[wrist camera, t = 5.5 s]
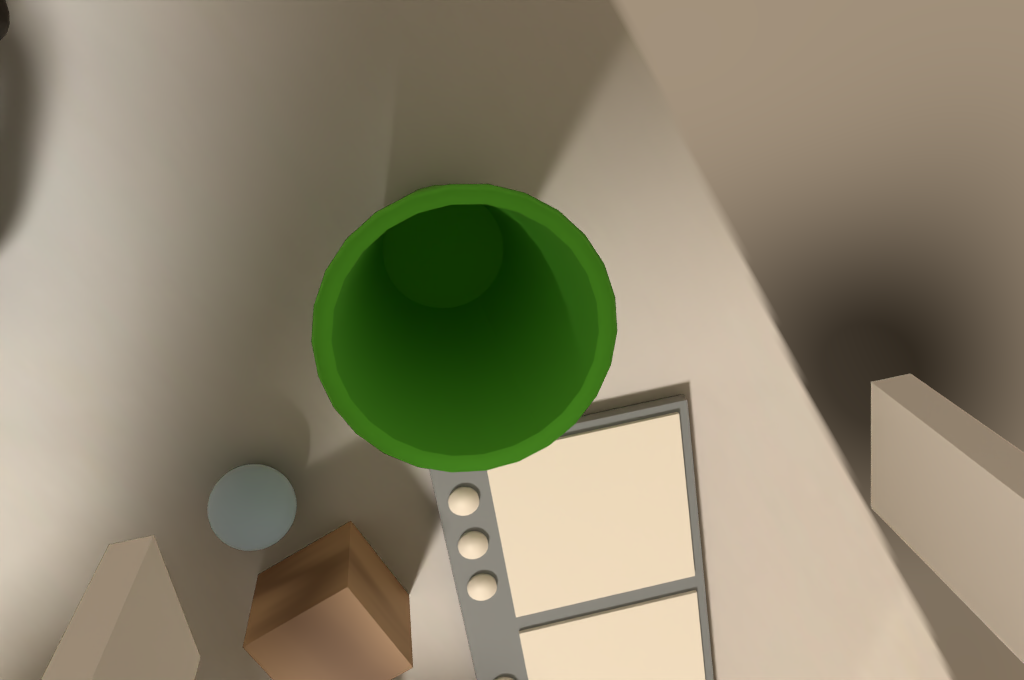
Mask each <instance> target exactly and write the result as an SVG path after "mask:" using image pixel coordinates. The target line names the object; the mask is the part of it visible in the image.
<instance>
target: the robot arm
mask: <svg viewBox="0 0 1024 680" xmlns="http://www.w3.org/2000/svg"><path fill="white" fill-rule="evenodd" d="M871 508H872V509H873V510H874V511H875V512H876V513H877V514H878V515H879V516H880V517H881V518H882V519H883V520H884V521H885V522H886V523H887V524H888V525H889V526H890V527H891V528H892V529H893V530H894V531H895V532H896V533H897V534H898V535H899V537H901V538H902V540H903V541H904V542H905V543H907V545H908V546H909V547H910V548H911V549H912V550H913V551H914V552H915V553H916V554H917V555H918V556H919V557H920V558H921V559H922V560H923V561H924V562H925V563H926V564H927V565H928V566H929V567H930V568H931V569H932V570H933V571H934V572H935V573H936V574H937V575H938V576H939V577H940V578H941V580H942V581H944V583H946V585H947V586H948V587H949V588H950V589H951V590H952V591H953V592H954V593H955V594H956V595H957V596H958V597H959V598H960V599H961V600H962V601H963V602H964V603H965V604H966V605H967V606H968V607H969V608H970V609H971V610H972V611H973V612H974V613H975V614H976V615H977V616H978V617H979V618H980V619H981V621H983V623H984V624H985V625H986V626H987V627H988V628H989V629H991V631H992V632H993V633H994V634H995V635H996V636H997V637H998V638H999V639H1000V640H1001V641H1002V642H1003V643H1004V644H1005V645H1006V646H1007V647H1008V648H1009V649H1010V650H1011V651H1012V652H1013V653H1014V654H1015V655H1016V656H1017V657H1018V658H1019V659H1020V660H1021V661H1022V663H1023V664H1024V452H1022V451H1021V450H1020V449H1018V448H1017V447H1015V446H1014V445H1012V444H1011V443H1009V442H1008V441H1007V440H1005V439H1004V438H1002V437H1001V436H999V435H998V434H997V433H995V432H994V431H992V430H991V429H989V428H988V427H986V426H985V425H984V424H982V423H981V422H979V421H978V420H976V419H975V418H973V417H972V416H971V415H969V414H968V413H966V412H965V411H963V410H962V409H960V408H959V407H958V406H956V405H955V404H953V403H952V402H950V401H949V400H947V399H946V398H945V397H943V396H942V395H940V394H939V393H937V392H936V391H935V390H933V389H932V388H930V387H929V386H927V385H926V384H925V383H923V382H922V381H920V380H919V379H917V378H916V377H915V376H913V375H912V374H906V375H902V376H897V377H892V378H888V379H883V380H879V381H873V382H871ZM200 658H201V657H200V655H199V652H198V649H197V647H196V644H195V642H194V639H193V636H192V634H191V631H190V629H189V626H188V623H187V621H186V618H185V615H184V613H183V610H182V608H181V605H180V602H179V600H178V597H177V595H176V592H175V589H174V587H173V584H172V581H171V579H170V576H169V574H168V571H167V568H166V566H165V563H164V561H163V558H162V555H161V553H160V550H159V547H158V545H157V542H156V540H155V537H154V535H152V536H147V537H142V538H138V539H133V540H128V541H124V542H119V543H114V544H109V546H108V548H107V550H106V552H105V554H104V556H103V558H102V560H101V562H100V564H99V566H98V568H97V570H96V572H95V574H94V575H93V577H92V579H91V581H90V583H89V585H88V587H87V589H86V591H85V593H84V595H83V597H82V599H81V601H80V603H79V605H78V607H77V609H76V611H75V613H74V615H73V617H72V619H71V621H70V623H69V625H68V627H67V629H66V631H65V633H64V635H63V637H62V639H61V641H60V643H59V645H58V647H57V649H56V651H55V653H54V655H53V657H52V659H51V661H50V663H49V665H48V667H47V669H46V671H45V673H44V675H43V677H42V679H41V680H195V676H196V673H197V669H198V666H199V662H200Z"/></svg>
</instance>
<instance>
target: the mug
mask: <svg viewBox="0 0 1024 680" xmlns="http://www.w3.org/2000/svg"><path fill="white" fill-rule="evenodd" d="M8 28H9V11H8V8H7V4H6V1H5V0H0V40H1V39H2V38H3V37H4V36H5V35H6V33H7V31H8Z"/></svg>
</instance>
